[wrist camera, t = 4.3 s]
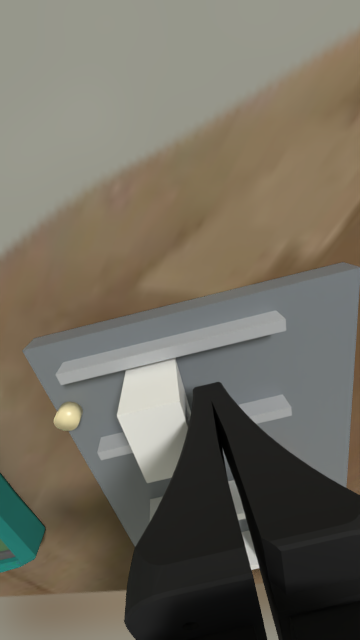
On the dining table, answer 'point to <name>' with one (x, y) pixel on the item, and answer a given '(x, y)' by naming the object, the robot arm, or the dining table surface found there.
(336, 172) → the dining table surface
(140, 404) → the block
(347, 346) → the panel
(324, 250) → the dining table surface
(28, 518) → the digital multimeter
